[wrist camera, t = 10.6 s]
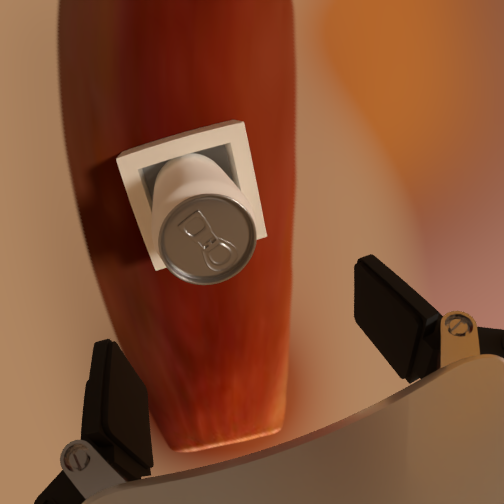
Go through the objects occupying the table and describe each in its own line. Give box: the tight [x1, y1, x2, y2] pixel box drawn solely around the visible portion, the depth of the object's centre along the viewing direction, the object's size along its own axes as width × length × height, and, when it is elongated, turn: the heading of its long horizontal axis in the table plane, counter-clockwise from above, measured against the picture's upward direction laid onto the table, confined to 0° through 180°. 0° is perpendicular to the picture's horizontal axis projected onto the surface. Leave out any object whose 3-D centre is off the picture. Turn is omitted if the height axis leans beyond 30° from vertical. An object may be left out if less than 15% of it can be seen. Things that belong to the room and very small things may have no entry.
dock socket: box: [116, 120, 267, 271], centre depth 27 cm, size 10×10×4 cm
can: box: [151, 153, 257, 285], centre depth 23 cm, size 6×6×12 cm
